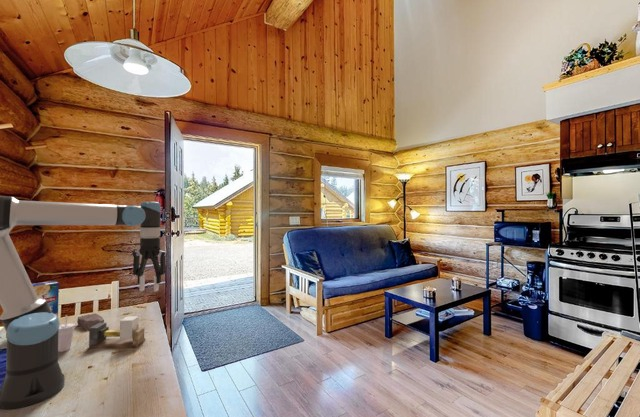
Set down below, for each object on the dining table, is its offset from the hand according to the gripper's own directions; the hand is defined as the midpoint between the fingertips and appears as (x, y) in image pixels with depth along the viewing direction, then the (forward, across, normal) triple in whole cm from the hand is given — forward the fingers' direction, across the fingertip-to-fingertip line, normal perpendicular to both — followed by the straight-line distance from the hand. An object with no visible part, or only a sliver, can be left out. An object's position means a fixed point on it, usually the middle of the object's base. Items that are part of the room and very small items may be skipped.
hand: (149, 290), depth 127 cm
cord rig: (+23, +12, 0) cm, 26 cm away
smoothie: (+23, +31, +5) cm, 39 cm away
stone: (+23, +38, -21) cm, 50 cm away
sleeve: (+20, +8, 0) cm, 21 cm away
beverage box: (+23, +57, -15) cm, 64 cm away
